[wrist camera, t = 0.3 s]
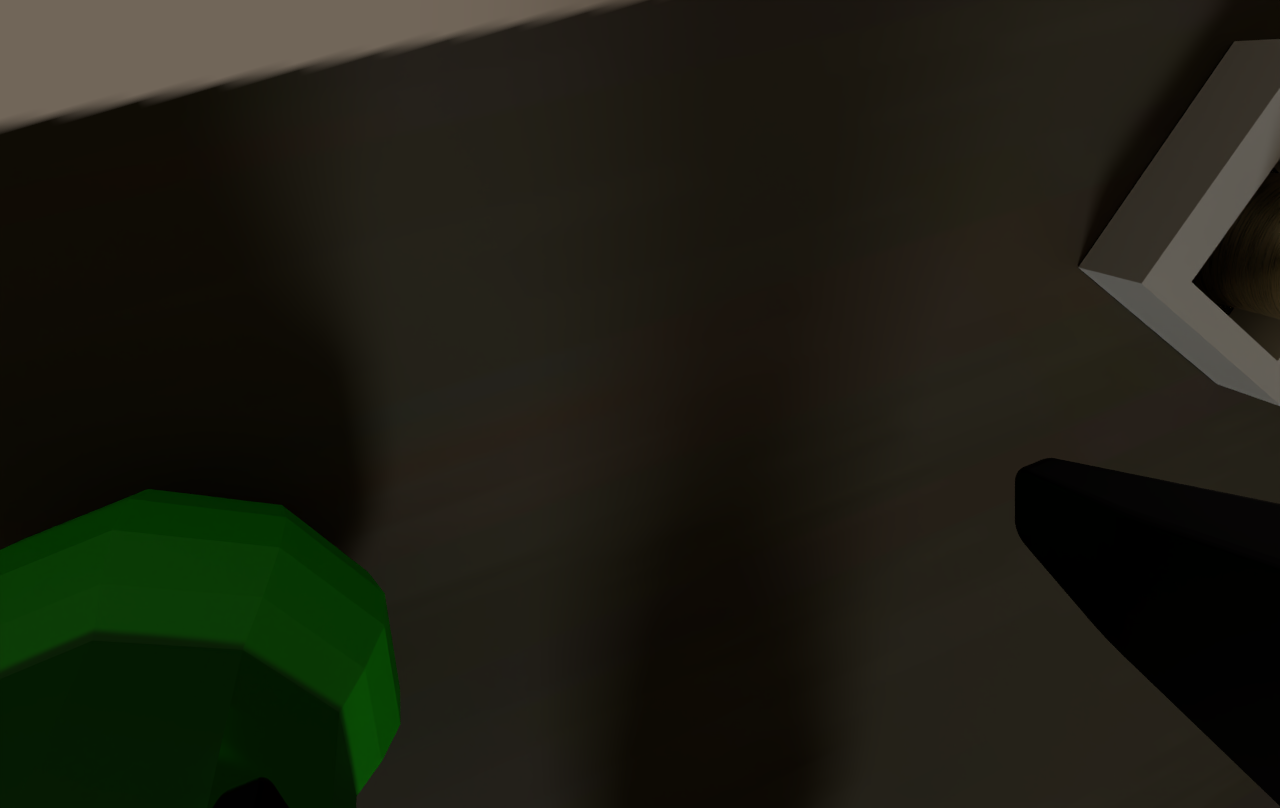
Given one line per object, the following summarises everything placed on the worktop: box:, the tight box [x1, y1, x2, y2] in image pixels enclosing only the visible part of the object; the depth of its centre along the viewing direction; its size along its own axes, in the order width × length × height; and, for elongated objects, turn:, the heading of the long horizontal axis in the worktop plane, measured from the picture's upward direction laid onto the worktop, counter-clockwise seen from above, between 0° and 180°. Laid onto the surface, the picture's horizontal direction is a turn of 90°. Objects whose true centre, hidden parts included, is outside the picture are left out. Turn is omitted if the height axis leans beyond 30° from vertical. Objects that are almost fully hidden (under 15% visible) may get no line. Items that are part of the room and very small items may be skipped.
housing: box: [1078, 39, 1280, 406], centre depth 27 cm, size 8×9×2 cm
